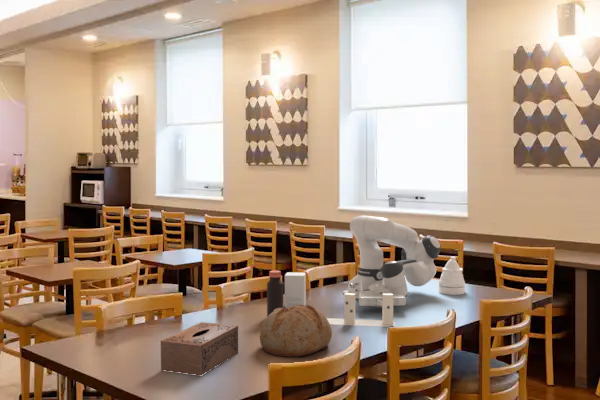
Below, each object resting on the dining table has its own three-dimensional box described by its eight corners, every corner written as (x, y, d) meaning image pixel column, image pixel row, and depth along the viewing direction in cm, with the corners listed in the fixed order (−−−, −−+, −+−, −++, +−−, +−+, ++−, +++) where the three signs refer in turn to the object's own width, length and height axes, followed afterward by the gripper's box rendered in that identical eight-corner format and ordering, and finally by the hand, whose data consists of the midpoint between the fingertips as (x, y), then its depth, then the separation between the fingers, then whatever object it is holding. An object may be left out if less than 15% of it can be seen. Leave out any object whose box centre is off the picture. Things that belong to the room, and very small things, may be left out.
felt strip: (305, 324, 271) (305, 323, 270) (308, 318, 280) (308, 317, 280) (394, 328, 264) (394, 327, 264) (395, 321, 274) (395, 320, 274)
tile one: (382, 322, 271) (382, 293, 270) (392, 322, 271) (392, 293, 270) (383, 324, 268) (383, 295, 267) (393, 324, 268) (393, 295, 267)
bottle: (269, 321, 276) (268, 273, 274) (265, 317, 282) (265, 270, 281) (285, 320, 278) (284, 272, 276) (281, 316, 284) (281, 269, 283)
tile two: (345, 322, 272) (345, 293, 272) (355, 322, 271) (355, 293, 271) (344, 324, 269) (344, 294, 268) (353, 324, 268) (354, 295, 267)
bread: (297, 334, 256) (297, 295, 255) (345, 346, 240) (345, 304, 239) (247, 349, 236) (247, 307, 235) (296, 363, 220) (295, 318, 219)
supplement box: (306, 304, 307) (306, 272, 306) (304, 308, 298) (304, 275, 297) (286, 304, 308) (286, 271, 307) (284, 308, 299) (284, 275, 298)
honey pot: (467, 294, 328) (468, 258, 327) (441, 294, 328) (441, 258, 327) (461, 289, 341) (462, 254, 339) (436, 289, 341) (437, 254, 340)
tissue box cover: (201, 377, 207) (200, 345, 206) (161, 371, 212) (160, 340, 211) (238, 354, 231) (238, 325, 230) (201, 349, 236) (201, 322, 235)
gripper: (403, 303, 295) (408, 311, 281) (357, 304, 295) (360, 311, 281) (403, 289, 295) (408, 296, 281) (357, 290, 294) (360, 296, 281)
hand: (384, 304), depth 281 cm, fingers closed
